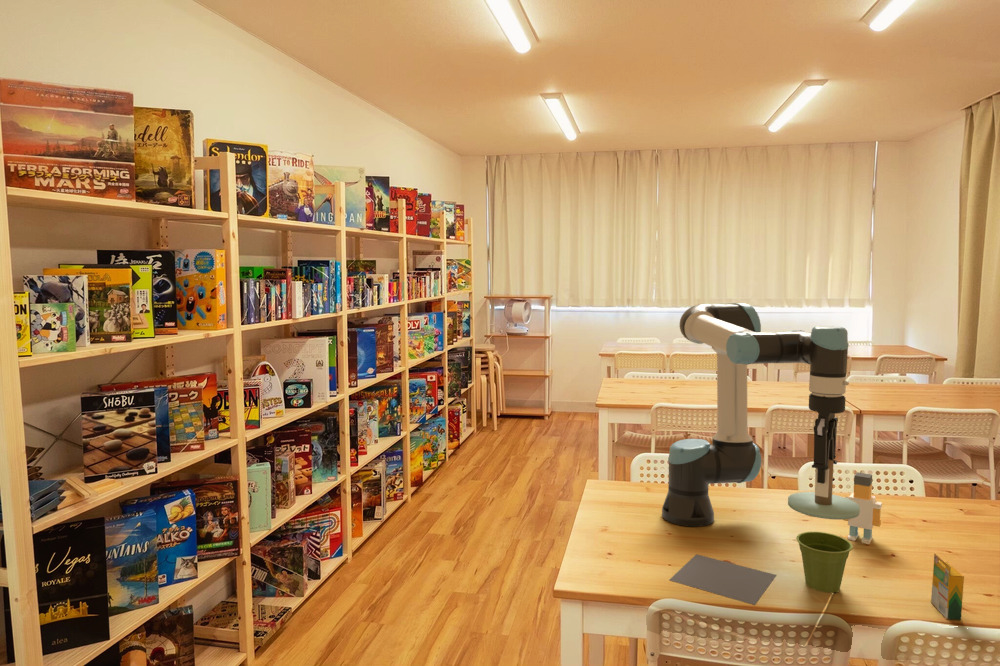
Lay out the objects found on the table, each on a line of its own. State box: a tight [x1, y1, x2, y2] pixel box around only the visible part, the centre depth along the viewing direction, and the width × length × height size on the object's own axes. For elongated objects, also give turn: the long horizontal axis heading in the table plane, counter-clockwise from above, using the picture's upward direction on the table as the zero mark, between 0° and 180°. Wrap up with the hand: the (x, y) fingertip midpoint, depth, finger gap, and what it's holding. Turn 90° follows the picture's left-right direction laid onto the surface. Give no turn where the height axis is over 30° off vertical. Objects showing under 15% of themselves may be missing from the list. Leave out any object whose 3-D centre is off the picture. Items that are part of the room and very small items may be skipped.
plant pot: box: [795, 531, 854, 594], centre depth 155 cm, size 12×12×11 cm
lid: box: [787, 459, 860, 521], centre depth 153 cm, size 15×15×11 cm
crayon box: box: [930, 553, 965, 621], centre depth 143 cm, size 7×3×12 cm, turn 170°
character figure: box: [842, 471, 883, 545], centre depth 183 cm, size 8×10×18 cm
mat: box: [669, 553, 777, 606], centre depth 159 cm, size 20×18×1 cm
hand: (823, 493), depth 153 cm, fingers closed on lid, 3 cm apart
